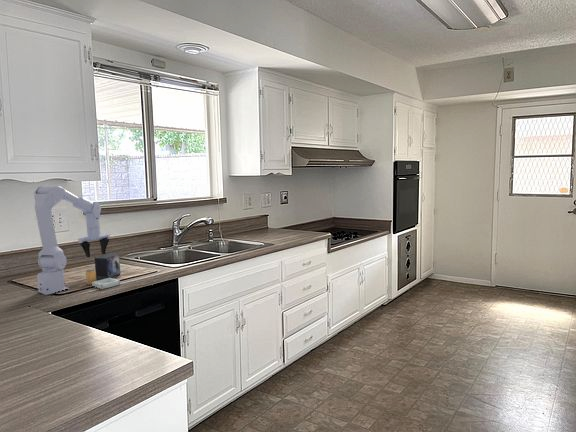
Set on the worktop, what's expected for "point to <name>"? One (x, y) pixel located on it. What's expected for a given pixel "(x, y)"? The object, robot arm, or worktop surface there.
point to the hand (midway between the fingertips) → (95, 255)
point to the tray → (106, 283)
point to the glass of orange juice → (90, 276)
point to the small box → (107, 266)
